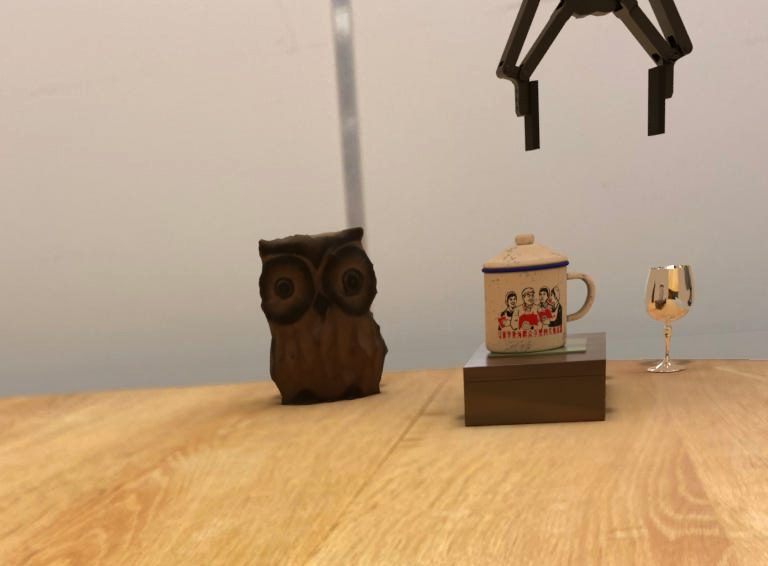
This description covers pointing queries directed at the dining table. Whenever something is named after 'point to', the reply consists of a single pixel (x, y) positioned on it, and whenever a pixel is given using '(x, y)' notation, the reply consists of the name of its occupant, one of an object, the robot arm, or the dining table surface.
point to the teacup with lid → (529, 298)
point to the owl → (321, 317)
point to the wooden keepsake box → (537, 384)
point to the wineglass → (668, 302)
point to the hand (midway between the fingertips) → (594, 142)
